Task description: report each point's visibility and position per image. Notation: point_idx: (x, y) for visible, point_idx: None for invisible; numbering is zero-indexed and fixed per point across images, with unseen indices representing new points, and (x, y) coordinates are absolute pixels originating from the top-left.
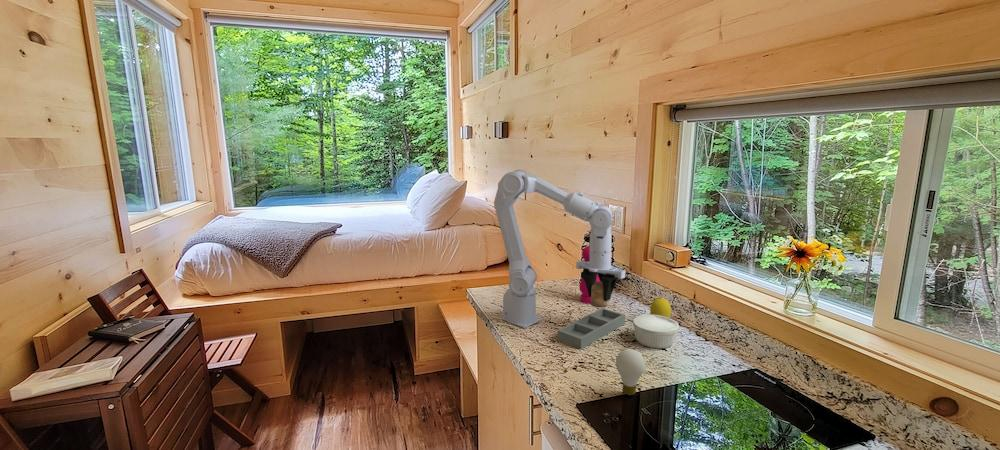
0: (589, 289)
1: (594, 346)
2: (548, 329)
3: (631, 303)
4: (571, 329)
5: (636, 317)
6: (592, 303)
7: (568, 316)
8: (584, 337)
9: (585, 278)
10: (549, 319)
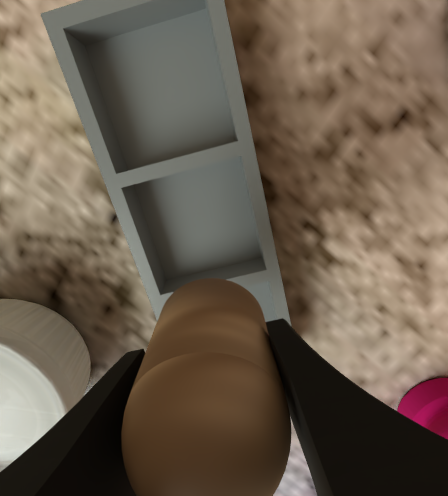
0: (280, 355)
1: (75, 124)
2: (345, 44)
3: (310, 486)
4: (228, 107)
5: (51, 391)
6: (217, 285)
7: (388, 237)
8: (55, 52)
9: (380, 457)
10: (430, 134)
